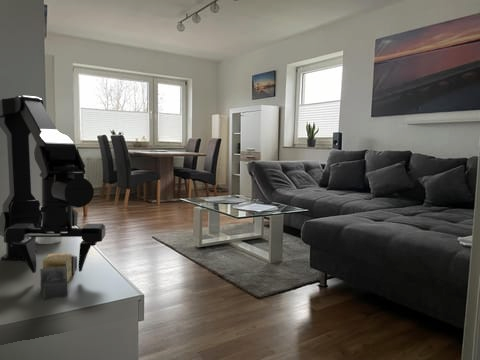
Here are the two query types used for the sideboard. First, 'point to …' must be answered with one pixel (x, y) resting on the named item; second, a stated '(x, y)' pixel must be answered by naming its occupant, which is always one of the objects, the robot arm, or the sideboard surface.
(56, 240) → the white cup
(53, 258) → the block
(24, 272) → the sideboard surface
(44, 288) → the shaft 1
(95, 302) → the sideboard surface
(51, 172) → the robot arm
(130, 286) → the sideboard surface
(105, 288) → the sideboard surface
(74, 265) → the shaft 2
